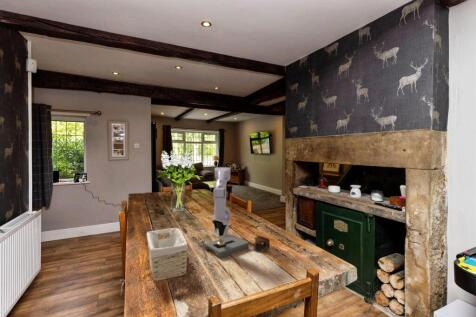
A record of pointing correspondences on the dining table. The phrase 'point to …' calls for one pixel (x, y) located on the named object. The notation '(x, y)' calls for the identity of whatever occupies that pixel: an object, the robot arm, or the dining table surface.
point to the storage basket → (167, 254)
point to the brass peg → (220, 238)
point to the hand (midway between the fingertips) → (219, 234)
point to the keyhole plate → (227, 246)
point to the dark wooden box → (259, 241)
